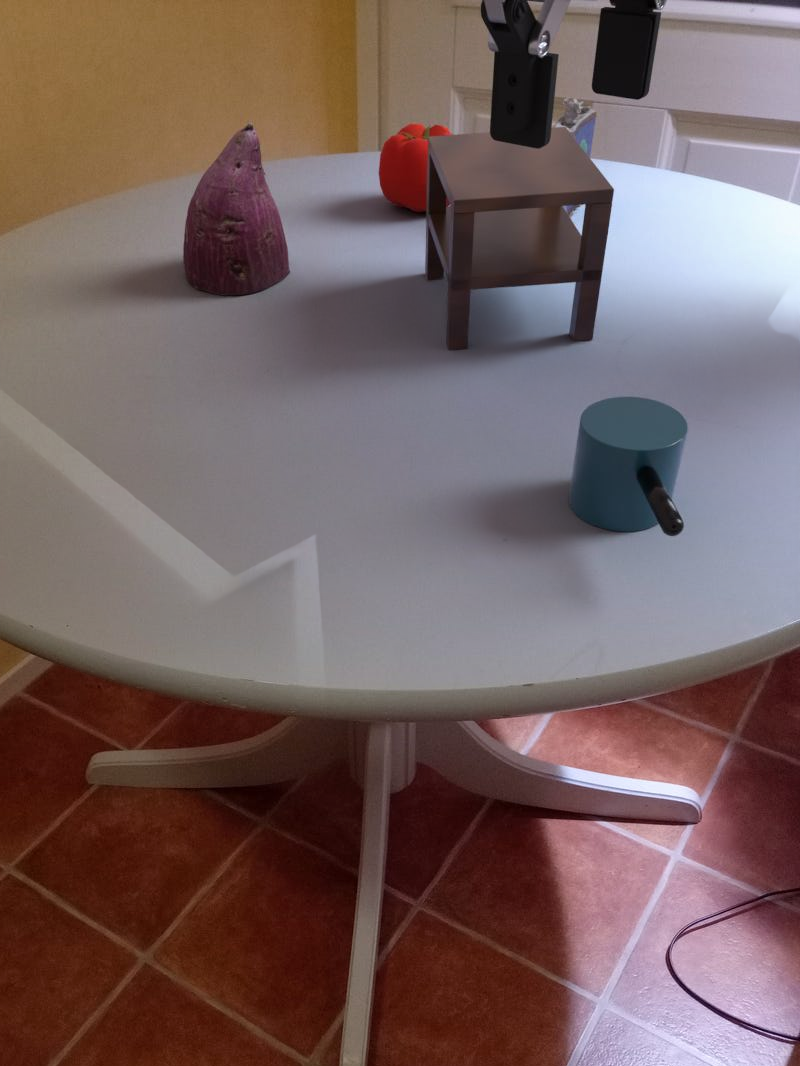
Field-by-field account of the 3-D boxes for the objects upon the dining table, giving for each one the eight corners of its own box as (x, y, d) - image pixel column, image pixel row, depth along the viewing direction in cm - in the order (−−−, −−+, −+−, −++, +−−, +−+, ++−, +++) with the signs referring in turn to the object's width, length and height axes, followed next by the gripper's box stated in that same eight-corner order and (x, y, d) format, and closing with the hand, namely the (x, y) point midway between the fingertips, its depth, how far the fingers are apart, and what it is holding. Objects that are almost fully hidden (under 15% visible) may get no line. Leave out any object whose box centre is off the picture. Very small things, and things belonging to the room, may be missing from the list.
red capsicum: (420, 227, 101) (421, 149, 96) (363, 206, 106) (362, 132, 101) (483, 203, 105) (487, 127, 100) (426, 184, 110) (427, 111, 105)
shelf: (551, 263, 93) (565, 126, 84) (592, 340, 81) (614, 188, 73) (425, 272, 93) (427, 136, 84) (448, 350, 81) (454, 200, 73)
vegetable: (297, 288, 99) (331, 130, 90) (263, 319, 91) (297, 149, 82) (202, 255, 100) (226, 95, 91) (161, 283, 92) (182, 111, 83)
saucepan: (653, 472, 66) (669, 392, 62) (715, 589, 57) (739, 505, 53) (559, 478, 66) (569, 399, 62) (606, 597, 57) (622, 514, 53)
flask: (561, 229, 99) (574, 112, 91) (533, 225, 100) (543, 110, 93) (588, 199, 104) (603, 87, 97) (562, 196, 106) (574, 85, 98)
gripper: (593, -355, 33) (542, 178, 45) (803, -356, 42) (714, 88, 54) (417, -335, 37) (412, 151, 48) (643, -340, 46) (593, 71, 57)
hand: (571, 117), depth 51 cm, fingers open, 9 cm apart
